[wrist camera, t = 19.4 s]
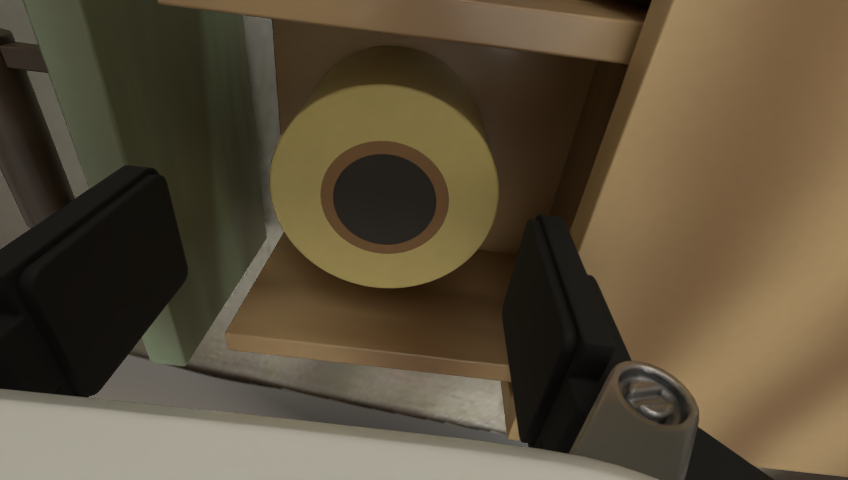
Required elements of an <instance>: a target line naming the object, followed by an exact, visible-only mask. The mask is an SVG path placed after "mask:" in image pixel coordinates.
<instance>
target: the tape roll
mask: <svg viewBox="0 0 848 480" xmlns="http://www.w3.org/2000/svg"><path fill="white" fill-rule="evenodd" d="M269 182H270V194H271V200H272V204H273V208H274V211H275V214H276V217H277V219H278V221H279V223H280V225H281V227H282V229H283V231H284V232H285V234H286V235H287V237H288V238H289V240H290V241H291V242H292V243H293V245H294V246H295V247H296V248H297V249H298V250H299V251H300V252H301V253H302V254H303V255H304V256H305V257H306V258H307V259H308V260H310V261H311V262H312V263H314V264H315V265H316V266H318V267H319V268H321V269H323V270H324V271H326V272H328V273H329V274H332V275H334V276H336V277H338V278H340V279H343V280H346V281H349V282H351V283H355V284H359V285H363V286H368V287H376V288H405V287H411V286H417V285H421V284H424V283H428V282H431V281H433V280H436V279H438V278H441V277H443V276H445V275H447V274H448V273H450V272H452V271H454V270H455V269H457V268H458V267H459V266H461V265H462V264H464V263H465V262H466V261H467V260H468V259H469V258H470V257H471V256H472V255H473V254H474V253H475V252H476V251H477V250H478V248H479V247H480V246H481V245H482V243H483V242H484V240H485V239H486V237H487V235H488V233H489V231H490V229H491V227H492V225H493V223H494V219H495V216H496V213H497V208H498V202H499V180H498V172H497V168H496V165H495V162H494V158H493V155H492V152H491V149H490V146H489V143H488V140H487V137H486V133H485V130H484V127H483V124H482V121H481V118H480V115H479V112H478V109H477V106H476V103H475V101H474V99H473V97H472V94H471V93H470V91H469V89H468V88H467V86H466V85H465V83H464V82H463V81H462V80H461V78H460V77H459V76H458V75H457V74H456V73H455V72H454V71H453V70H452V69H451V68H450V67H449V66H447V65H446V64H444V63H443V62H441V61H440V60H438V59H437V58H435V57H433V56H431V55H429V54H427V53H424V52H421V51H418V50H415V49H411V48H406V47H397V46H384V47H375V48H371V49H367V50H363V51H361V52H358V53H356V54H353V55H351V56H350V57H348V58H346V59H344V60H343V61H341V62H340V63H339V64H337V65H336V66H335V67H334V68H333V69H332V70H331V71H330V72H329V73H328V74H327V75H326V76H325V77H324V78H323V80H322V81H321V82H320V84H319V85H318V86H317V88H316V89H315V90H314V92H313V93H312V94H311V96H310V97H309V98H308V100H307V101H306V102H305V104H304V105H303V106H302V108H301V109H300V110H299V112H298V113H297V114H296V116H295V117H294V118H293V120H292V121H291V122H290V124H289V125H288V126H287V128H286V129H285V131H284V132H283V134H282V135H281V137H280V139H279V141H278V143H277V146H276V148H275V151H274V154H273V157H272V161H271V167H270V174H269Z"/></svg>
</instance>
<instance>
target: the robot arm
mask: <svg viewBox="0 0 848 480" xmlns="http://www.w3.org/2000/svg"><path fill="white" fill-rule="evenodd" d="M187 275H188V266H187V262H186V258H185V253H184V249H183V245H182V241H181V237H180V233H179V229H178V225H177V221H176V217H175V213H174V209H173V205H172V201H171V196H170V192H169V188H168V184H167V181H166V179H165V177H164V176H162V175H159V173H158V171H157V170H156V169H154V168H148V167H140V166H131V165H125V166H123V167H121V168H120V169H118V170H117V171H115V172H114V173H112V174H111V175H109V176H108V177H106V178H105V179H103V180H102V181H101V182H99V183H98V184H96V185H95V186H93V187H92V188H90V189H89V190H87V191H86V192H84V193H83V194H81V195H80V196H78V197H77V198H75V199H74V200H73V201H71V202H70V203H68V204H67V205H65V206H64V207H62V208H61V209H59V210H58V211H56V212H55V213H53V214H52V215H50V216H49V217H48V218H46V219H45V220H43V221H42V222H40V223H39V224H37V225H36V226H34V227H33V228H31V229H30V230H28V231H27V232H25V233H24V234H23V235H21V236H20V237H18V238H17V239H15V240H14V241H12V242H11V243H9V244H8V245H6V246H5V247H3V248H2V249H0V480H773V479H772V478H770V477H769V476H768V475H766V474H765V473H763V472H762V471H760V470H759V469H758V468H756V467H755V466H753V465H752V464H750V463H749V462H748V461H746V460H745V459H743V458H742V457H741V456H739V455H738V454H736V453H735V452H733V451H732V450H731V449H729V448H728V447H726V446H725V445H723V444H722V443H721V442H719V441H718V440H716V439H715V438H713V437H712V436H711V435H709V434H708V433H706V432H705V431H704V430H702V429H701V428H699V427H698V424H699V408H698V406H697V403H696V401H695V398H694V397H693V395H692V394H691V393H690V391H689V390H688V389H687V387H686V386H685V385H683V384H682V383H681V382H680V381H679V380H678V379H677V378H676V377H675V376H673V375H671V374H670V373H668V372H667V371H665V370H664V369H662V368H659V367H657V366H655V365H652V364H650V363H645V362H641V361H632V360H631V358H630V355H629V353H628V351H627V349H626V346H625V344H624V342H623V340H622V337H621V335H620V333H619V330H618V328H617V326H616V324H615V321H614V319H613V317H612V315H611V312H610V310H609V308H608V305H607V303H606V301H605V299H604V296H603V294H602V292H601V290H600V287H599V285H598V283H597V281H596V279H595V278H594V277H593V276H592V275H587V273H586V270H585V268H584V266H583V263H582V261H581V258H580V256H579V254H578V251H577V249H576V246H575V244H574V242H573V239H572V237H571V235H570V232H569V230H568V227H567V225H566V223H565V220H564V219H563V217H557V216H549V215H541V214H538V215H537V216H536V218H535V220H531V219H529V220H528V221H527V223H526V226H525V229H524V233H523V236H522V240H521V243H520V247H519V250H518V254H517V257H516V261H515V264H514V268H513V271H512V275H511V278H510V282H509V285H508V289H507V292H506V296H505V299H504V303H503V308H502V321H503V328H504V335H505V342H506V349H507V356H508V363H509V370H510V377H511V384H512V391H513V398H514V405H515V412H516V419H517V426H518V433H519V438H520V441H521V442H524V443H528V446H529V447H522V446H515V445H507V444H499V443H492V442H484V441H476V440H469V439H461V438H452V437H444V436H435V435H427V434H418V433H409V432H400V431H391V430H382V429H374V428H365V427H356V426H347V425H337V424H330V423H320V422H312V421H303V420H293V419H284V418H275V417H265V416H256V415H248V414H238V413H229V412H219V411H210V410H201V409H192V408H182V407H173V406H164V405H154V404H145V403H135V402H126V401H125V402H124V401H116V400H105V399H96V398H88V397H89V396H92V395H95V394H96V393H98V392H99V391H100V390H101V388H102V387H103V386H104V385H105V383H106V382H107V381H108V380H109V378H110V377H111V376H112V374H113V373H114V372H115V371H116V369H117V368H118V367H119V365H120V364H121V363H122V362H123V360H124V359H125V358H126V357H127V355H128V354H129V353H130V351H131V350H132V349H133V348H134V346H135V345H136V344H137V342H138V341H139V340H140V339H141V337H142V336H143V335H144V334H145V332H146V331H147V330H148V328H149V327H150V326H151V325H152V323H153V322H154V321H155V319H156V318H157V317H158V316H159V314H160V313H161V312H162V311H163V309H164V308H165V307H166V305H167V304H168V303H169V302H170V300H171V299H172V298H173V296H174V295H175V294H176V293H177V291H178V290H179V289H180V288H181V286H182V285H183V284H184V282H185V281H186V278H187Z"/></svg>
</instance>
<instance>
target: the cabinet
mask: <svg viewBox="0 0 848 480" xmlns="http://www.w3.org/2000/svg"><path fill="white" fill-rule="evenodd" d="M627 1H632V2H635V3H639V4H643V5H646V6H650V7H649V10H648V13H647V15H646V18H645V21H644V24H643V27H642V30H641V32H640V35H639V38H638V41H637V44H636V47H635V49H634V52H633V55H632V58H631V61H630V63H629V66H628V69H627V72H626V75H625V78H624V80H623V83H622V86H621V89H620V92H619V95H618V97H617V100H616V103H615V106H614V109H613V112H612V114H611V117H610V120H609V123H608V126H607V129H606V131H605V134H604V137H603V140H602V143H601V145H600V148H599V151H598V154H597V157H596V160H595V162H594V165H593V168H592V171H591V174H590V177H589V179H588V182H587V185H586V188H585V191H584V194H583V196H582V199H581V202H580V205H579V208H578V211H577V213H576V216H575V219H574V222H573V225H572V228H571V230H570V235H571V237H572V239H573V242H574V244H575V246H576V249H577V251H578V254H579V256H580V258H581V261H582V263H583V266H584V268H585V270H586V273H587V275H592V276H593V277H594V278H595V279H596V281H597V283H598V285H599V287H600V290H601V292H602V294H603V296H604V299H605V301H606V303H607V305H608V308H609V310H610V312H611V315H612V317H613V319H614V321H615V324H616V326H617V328H618V330H619V333H620V335H621V337H622V340H623V342H624V344H625V346H626V349H627V351H628V353H629V355H630V358H631V360H632V361H641V362H645V363H650V364H652V365H655V366H657V367H659V368H662V369H664V370H665V371H667V372H668V373H670V374H671V375H673V376H675V377H676V378H677V379H678V380H679V381H680V382H681V383H682V384H683V385H685V386H686V387H687V389H688V390H689V391H690V393H691V394H692V395H693V397H694V398H695V401H696V403H697V406H698V408H699V424H698V427H699V428H701V429H702V430H704V431H705V432H706V433H708V434H709V435H711V436H712V437H713V438H715V439H716V440H718V441H719V442H721V443H722V444H723V445H725V446H726V447H728V448H729V449H731V450H732V451H733V452H735V453H736V454H738V455H739V456H741V457H742V458H743V459H745V460H746V461H748V462H749V463H750V464H752V465H753V466H755V467H762V468H771V469H780V470H789V471H798V472H807V473H816V474H825V475H834V476H843V477H848V0H627ZM501 388H502V397H503V405H504V414H505V422H506V431H507V438H508V439H510V440H519V441H520V438H519V433H518V426H517V419H516V412H515V405H514V398H513V391H512V384H511V382H508V381H501Z"/></svg>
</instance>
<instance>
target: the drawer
mask: <svg viewBox="0 0 848 480" xmlns="http://www.w3.org/2000/svg"><path fill="white" fill-rule="evenodd" d="M23 3H24V6H25V8H26V11H27V14H28V17H29V20H30V23H31V25H32V28H33V31H34V34H35V37H36V39H37V42H38V45H35V44H27V43H20V42H15V39H14V37H13V34H12V33H11V31H9V30H6V29H1V28H0V169H1V171H2V173H3V175H4V177H5V180H6V182H7V184H8V186H9V188H10V190H11V192H12V195H13V197H14V199H15V201H16V203H17V205H18V207H19V210H20V212H21V214H22V216H23V218H24V220H25V222H26V224H27V226H28V227H29V228H33V227H34V226H36V225H37V224H39V223H40V222H42V221H43V220H45V219H46V218H48V217H49V216H50V215H52V214H53V213H55V212H56V211H58V210H59V209H61V208H62V207H64V206H65V205H67V204H68V203H70V202H71V201H73V200H74V199H75V197H74V195H73V192H72V189H71V187H70V184H69V181H68V179H67V176H66V173H65V171H64V168H63V166H62V163H61V160H60V158H59V155H58V152H57V150H56V147H55V145H54V142H53V139H52V137H51V134H50V131H49V129H48V126H47V124H46V121H45V118H44V116H43V113H42V110H41V108H40V105H39V103H38V100H37V97H36V95H35V92H34V89H33V87H32V84H31V81H30V79H29V76H28V74H27V71H26V70H29V71H37V72H45V73H49V76H50V79H51V82H52V85H53V87H54V90H55V93H56V96H57V99H58V102H59V104H60V107H61V110H62V113H63V116H64V118H65V121H66V124H67V127H68V130H69V133H70V135H71V138H72V141H73V144H74V147H75V149H76V152H77V155H78V158H79V161H80V164H81V166H82V169H83V172H84V175H85V178H86V180H87V183H88V186H89V189H90V188H92V187H93V186H95V185H96V184H98V183H99V182H101V181H102V180H103V179H105V178H106V177H108V176H109V175H111V174H112V173H114V172H115V171H117V170H118V169H120V168H121V167H123V166H125V165H131V166H140V167H148V168H154V169H156V170H157V171H158V173H159V175H162V176H164V177H165V179H166V181H167V184H168V188H169V192H170V196H171V201H172V205H173V209H174V213H175V217H176V221H177V225H178V229H179V233H180V237H181V241H182V245H183V249H184V253H185V258H186V262H187V266H188V275H187V278H186V281H185V282H184V284H183V285H182V286H181V288H180V289H179V290H178V291H177V293H176V294H175V295H174V296H173V298H172V299H171V300H170V302H169V303H168V304H167V305H166V307H165V308H164V309H163V311H162V312H161V313H160V314H159V316H158V317H157V318H156V319H155V321H154V322H153V323H152V325H151V326H150V327H149V328H148V330H147V331H146V332H145V334H144V335H143V336H142V338H143V341H144V344H145V347H146V350H147V353H148V355H149V358H150V361H151V362H152V363H160V364H168V365H177V366H185V365H186V364H187V363H188V361H189V360H190V358H191V357H192V355H193V353H194V352H195V350H196V349H197V347H198V346H199V344H200V342H201V341H202V339H203V338H204V336H205V334H206V333H207V331H208V330H209V328H210V327H211V325H212V323H213V322H214V320H215V319H216V317H217V316H218V314H219V312H220V311H221V309H222V308H223V306H224V304H225V303H226V301H227V300H228V298H229V297H230V295H231V293H232V292H233V290H234V289H235V287H236V286H237V284H238V282H239V281H240V279H241V278H242V276H243V275H244V273H245V271H246V270H247V268H248V267H249V265H250V263H251V262H252V260H253V259H254V257H255V256H256V254H257V252H258V251H259V249H260V248H261V246H262V245H263V243H264V241H265V240H266V238H267V237H266V228H265V219H264V209H263V200H262V191H261V182H260V173H259V164H258V155H257V145H256V136H255V127H254V118H253V109H252V100H251V90H250V81H249V72H248V63H247V54H246V45H245V35H244V26H243V17H242V15H246V16H254V17H261V18H269V19H272V29H273V42H274V55H275V68H276V81H277V95H278V108H279V121H280V134H281V135H282V134H283V132H284V131H285V129H286V128H287V126H288V125H289V124H290V122H291V121H292V120H293V118H294V117H295V116H296V114H297V113H298V112H299V110H300V109H301V108H302V106H303V105H304V104H305V102H306V101H307V100H308V98H309V97H310V96H311V94H312V93H313V92H314V90H315V89H316V88H317V86H318V85H319V84H320V82H321V81H322V80H323V78H324V77H325V76H326V75H327V74H328V73H329V72H330V71H331V70H332V69H333V68H334V67H335V66H336V65H337V64H339V63H340V62H341V61H343V60H344V59H346V58H348V57H350V56H351V55H353V54H356V53H358V52H361V51H363V50H367V49H371V48H375V47H384V46H397V47H406V48H411V49H415V50H418V51H421V52H424V53H427V54H429V55H431V56H433V57H435V58H437V59H438V60H440V61H441V62H443V63H444V64H446V65H447V66H449V67H450V68H451V69H452V70H453V71H454V72H455V73H456V74H457V75H458V76H459V77H460V78H461V80H462V81H463V82H464V83H465V85H466V86H467V88H468V89H469V91H470V93H471V94H472V97H473V99H474V101H475V103H476V106H477V109H478V112H479V115H480V118H481V121H482V124H483V127H484V130H485V133H486V137H487V140H488V143H489V146H490V149H491V152H492V155H493V158H494V162H495V165H496V168H497V172H498V180H499V202H498V208H497V213H496V216H495V219H494V223H493V225H492V227H491V229H490V231H489V233H488V235H487V237H486V239H485V240H484V242H483V243H482V245H481V246H480V247H479V248H478V250H477V251H476V252H475V253H474V254H473V255H472V256H471V257H470V258H469V259H468V260H467V261H466V262H465V263H464V264H462V265H461V266H459V267H458V268H457V269H455V270H454V271H452V272H450V273H448V274H447V275H445V276H443V277H441V278H438V279H436V280H433V281H431V282H428V283H424V284H421V285H417V286H411V287H405V288H376V287H368V286H363V285H359V284H355V283H351V282H349V281H346V280H343V279H340V278H338V277H336V276H334V275H332V274H329V273H328V272H326V271H324V270H323V269H321V268H319V267H318V266H316V265H315V264H314V263H312V262H311V261H310V260H308V259H307V258H306V257H305V256H304V255H303V254H302V253H301V252H300V251H299V250H298V249H297V248H296V247H295V246H294V245H293V243H292V242H291V241H290V240H289V238H288V237H287V235H286V234H285V232H284V233H283V235H282V237H281V238H280V240H279V242H278V243H277V245H276V247H275V249H274V250H273V252H272V254H271V255H270V257H269V259H268V261H267V262H266V264H265V266H264V267H263V269H262V271H261V272H260V274H259V276H258V278H257V279H256V281H255V283H254V284H253V286H252V288H251V290H250V291H249V293H248V295H247V296H246V298H245V300H244V302H243V303H242V305H241V307H240V308H239V310H238V312H237V313H236V315H235V317H234V319H233V320H232V322H231V324H230V325H229V327H228V329H227V331H226V332H225V337H226V342H227V347H228V349H229V350H235V351H244V352H253V353H261V354H270V355H279V356H288V357H297V358H305V359H314V360H323V361H332V362H341V363H350V364H358V365H367V366H376V367H385V368H394V369H402V370H411V371H420V372H429V373H438V374H446V375H455V376H464V377H473V378H482V379H490V380H499V381H508V382H511V377H510V370H509V363H508V356H507V349H506V342H505V335H504V328H503V321H502V308H503V303H504V299H505V296H506V292H507V289H508V285H509V282H510V278H511V275H512V271H513V268H514V264H515V261H516V257H517V254H518V250H519V247H520V243H521V240H522V236H523V233H524V229H525V226H526V223H527V221H528V220H529V219H531V220H535V218H536V216H537V215H538V214H541V215H549V216H557V217H563V219H564V220H565V223H566V225H567V227H568V230H569V232H570V230H571V228H572V225H573V222H574V219H575V216H576V213H577V211H578V208H579V205H580V202H581V199H582V196H583V194H584V191H585V188H586V185H587V182H588V179H589V177H590V174H591V171H592V168H593V165H594V162H595V160H596V157H597V154H598V151H599V148H600V145H601V143H602V140H603V137H604V134H605V131H606V129H607V126H608V123H609V120H610V117H611V114H612V112H613V109H614V106H615V103H616V100H617V97H618V95H619V92H620V89H621V86H622V83H623V80H624V78H625V75H626V72H627V69H628V66H629V63H630V61H631V58H632V55H633V52H634V49H635V47H636V44H637V41H638V38H639V35H640V32H641V30H642V27H643V24H644V21H645V18H646V15H647V13H648V10H649V7H650V6H646V5H643V4H639V3H635V2H632V1H627V0H23Z"/></svg>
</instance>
